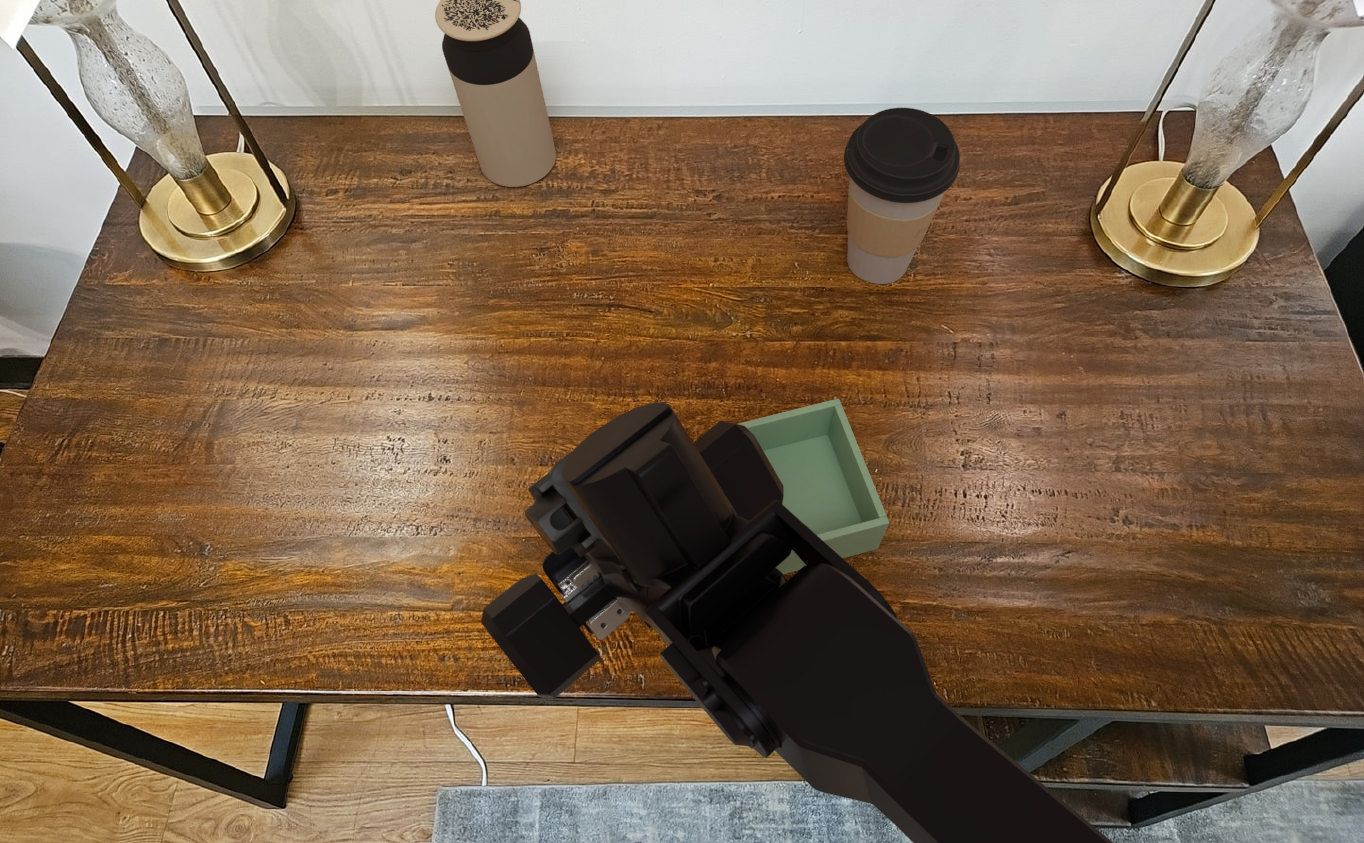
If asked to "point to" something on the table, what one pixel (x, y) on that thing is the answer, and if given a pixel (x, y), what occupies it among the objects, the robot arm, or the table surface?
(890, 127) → the coffee cup
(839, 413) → the green open square box
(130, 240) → the table surface
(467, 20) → the travel mug
